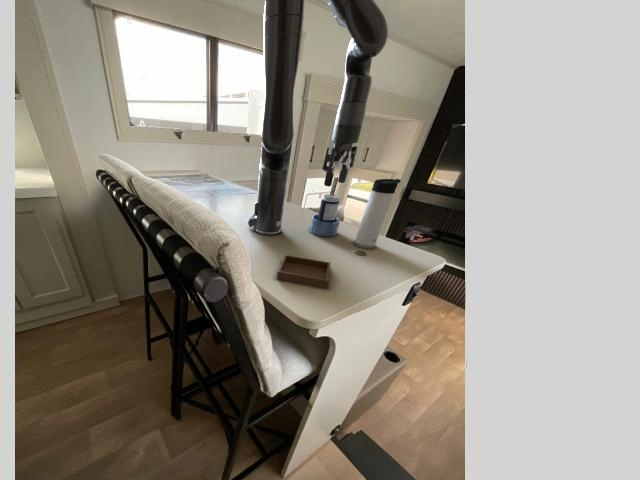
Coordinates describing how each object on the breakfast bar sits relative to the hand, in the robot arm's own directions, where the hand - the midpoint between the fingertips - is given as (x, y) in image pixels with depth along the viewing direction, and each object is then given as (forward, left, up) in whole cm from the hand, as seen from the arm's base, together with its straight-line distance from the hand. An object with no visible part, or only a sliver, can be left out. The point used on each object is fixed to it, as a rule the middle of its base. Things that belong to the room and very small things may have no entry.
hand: (334, 184), depth 81 cm
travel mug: (+14, -6, -16) cm, 22 cm away
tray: (-3, -34, -16) cm, 37 cm away
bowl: (0, 0, -16) cm, 16 cm away
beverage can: (0, 0, -16) cm, 16 cm away
